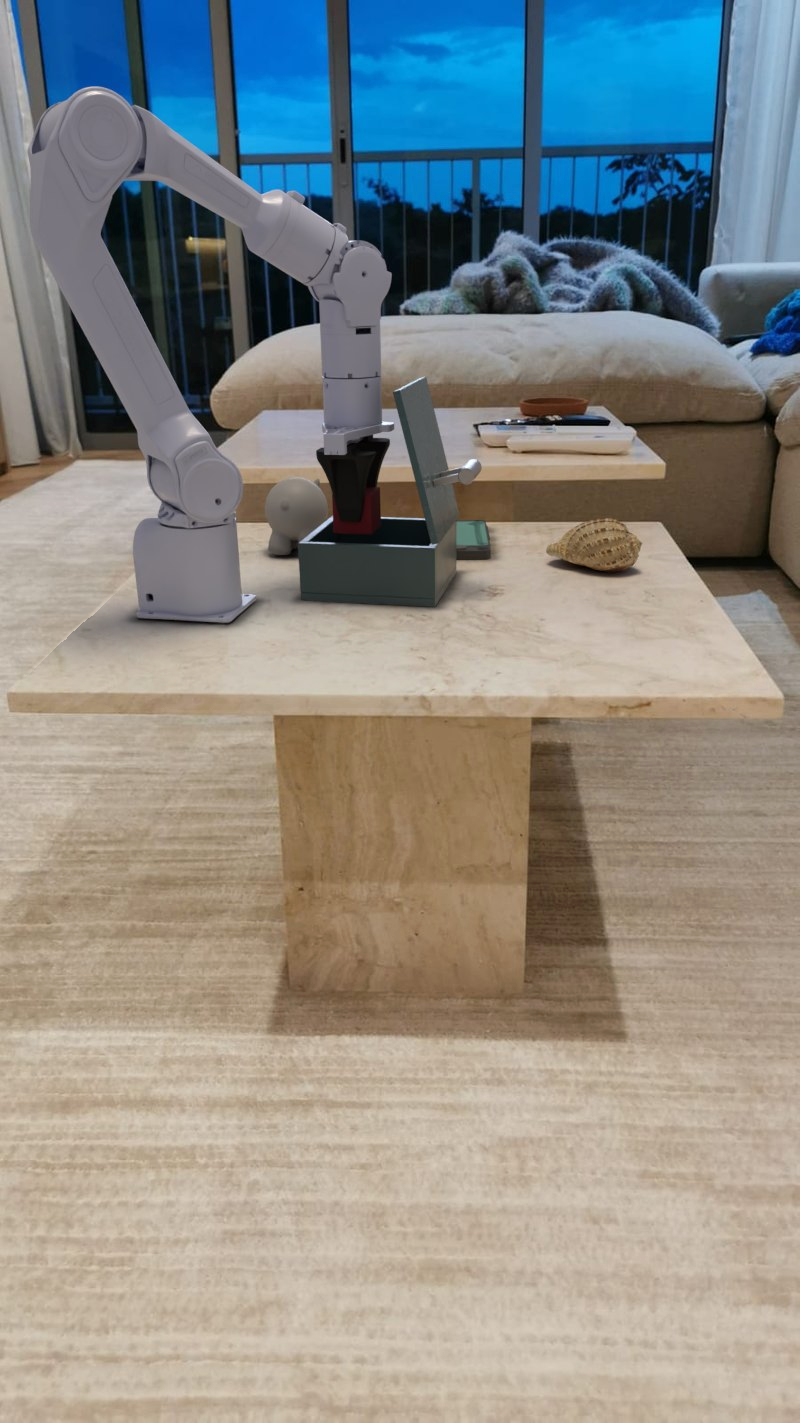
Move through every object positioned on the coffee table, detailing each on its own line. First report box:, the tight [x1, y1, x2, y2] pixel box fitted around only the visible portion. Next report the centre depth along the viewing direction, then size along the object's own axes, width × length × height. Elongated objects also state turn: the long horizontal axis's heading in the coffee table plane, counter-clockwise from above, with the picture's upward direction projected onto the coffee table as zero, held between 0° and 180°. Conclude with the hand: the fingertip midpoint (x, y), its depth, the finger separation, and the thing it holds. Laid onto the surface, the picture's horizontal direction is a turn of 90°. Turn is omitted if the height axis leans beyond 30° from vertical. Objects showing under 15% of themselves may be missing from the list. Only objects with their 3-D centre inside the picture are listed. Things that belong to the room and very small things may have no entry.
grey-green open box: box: [297, 515, 458, 608], centre depth 110 cm, size 14×13×6 cm
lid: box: [392, 376, 482, 545], centre depth 104 cm, size 14×13×5 cm
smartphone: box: [456, 519, 492, 560], centre depth 127 cm, size 7×1×15 cm
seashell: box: [545, 517, 643, 573], centre depth 116 cm, size 8×6×10 cm
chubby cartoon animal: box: [264, 476, 329, 556], centre depth 125 cm, size 7×12×8 cm, turn 171°
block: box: [331, 486, 382, 535], centre depth 108 cm, size 4×4×4 cm
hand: (356, 516), depth 109 cm, fingers closed on block, 4 cm apart
